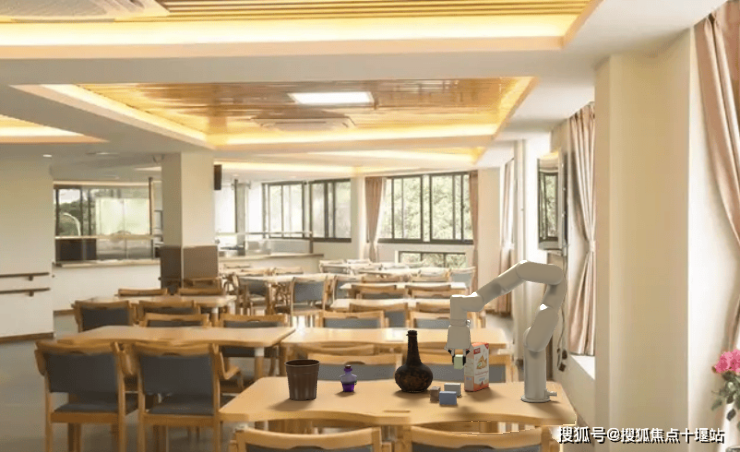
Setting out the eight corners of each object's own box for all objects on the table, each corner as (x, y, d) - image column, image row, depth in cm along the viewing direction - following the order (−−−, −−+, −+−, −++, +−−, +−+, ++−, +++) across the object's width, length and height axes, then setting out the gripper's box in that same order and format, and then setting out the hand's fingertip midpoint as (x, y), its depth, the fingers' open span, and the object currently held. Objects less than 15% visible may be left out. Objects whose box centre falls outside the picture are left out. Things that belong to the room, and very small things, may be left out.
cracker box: (475, 392, 381) (474, 346, 381) (463, 390, 385) (462, 345, 385) (490, 386, 392) (489, 342, 392) (478, 385, 396) (478, 341, 396)
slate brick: (460, 394, 377) (460, 383, 377) (459, 396, 374) (459, 384, 374) (445, 393, 379) (445, 382, 379) (444, 395, 376) (444, 384, 376)
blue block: (456, 403, 360) (456, 391, 360) (455, 405, 356) (455, 393, 356) (440, 402, 361) (440, 391, 361) (439, 404, 358) (439, 392, 358)
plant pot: (315, 402, 366) (314, 365, 366) (280, 401, 369) (279, 365, 369) (325, 394, 382) (324, 359, 382) (291, 393, 385) (290, 358, 385)
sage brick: (464, 365, 369) (464, 354, 369) (462, 369, 363) (461, 357, 362) (456, 365, 370) (456, 354, 370) (454, 368, 363) (453, 357, 363)
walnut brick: (440, 397, 371) (440, 386, 371) (437, 401, 364) (437, 389, 364) (433, 397, 372) (432, 386, 372) (430, 400, 365) (429, 389, 365)
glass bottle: (433, 386, 395) (432, 327, 395) (432, 394, 377) (431, 332, 377) (396, 386, 397) (395, 327, 397) (393, 394, 379) (392, 333, 379)
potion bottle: (360, 391, 387) (360, 365, 387) (343, 393, 383) (343, 367, 383) (353, 388, 395) (352, 362, 395) (336, 390, 391) (335, 364, 391)
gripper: (478, 322, 368) (478, 364, 368) (441, 321, 372) (442, 362, 372) (476, 324, 360) (476, 367, 361) (438, 323, 365) (439, 365, 365)
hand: (459, 364), depth 366 cm, fingers closed on sage brick, 3 cm apart
